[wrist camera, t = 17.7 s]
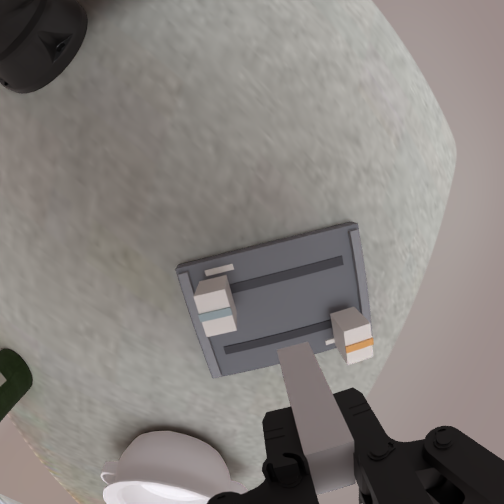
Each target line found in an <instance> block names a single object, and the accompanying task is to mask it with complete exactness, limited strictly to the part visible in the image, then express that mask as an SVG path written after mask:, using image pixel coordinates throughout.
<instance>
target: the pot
mask: <svg viewBox="0 0 504 504" xmlns="http://www.w3.org/2000/svg"><path fill="white" fill-rule="evenodd" d="M100 476H101V478H102V479H103V481H104V482H106V483H107V484H108V485H107V486H106V487H105V488H104V491H103V499H104V500H105V502H106V503H107V504H207V502H208V501H209V499H210V498H212V497H213V496H214V495H216V494H219V493H222V492H229V491H232V492H236V493H239V494H243V493H245V492H248V490H247V488H246V487H245V486H244V485H243V484H241V483H240V482H237V481H233V480H231V478H230V474H229V471H228V468H227V466H226V464H225V462H224V460H223V458H222V457H221V455H220V454H219V453H218V452H217V451H216V450H215V449H214V448H213V447H211V446H210V445H209V444H207V443H205V442H203V441H201V440H199V439H197V438H194V437H191V436H188V435H185V434H181V433H177V432H172V431H153V432H149V433H144V434H141V435H139V436H138V437H137V438H135V439H134V440H133V441H132V443H131V444H130V445H129V446H128V447H127V449H126V450H125V451H124V452H123V454H122V456H121V457H120V459H119V461H106V462H105V464H104V466H103V469H102V472H101V475H100Z"/></svg>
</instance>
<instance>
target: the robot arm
mask: <svg viewBox="0 0 504 504" xmlns="http://www.w3.org/2000/svg"><path fill="white" fill-rule="evenodd" d="M86 29H87V15H86V12H85V11H84V9H83V8H82V7H81V6H80V5H79V3H78V2H77V1H75V0H0V83H1V84H2V85H3V86H4V87H6V88H7V89H10V90H12V91H15V92H18V93H28V92H32V91H35V90H37V89H39V88H41V87H43V86H45V85H46V84H48V83H49V82H50V81H52V80H53V79H54V78H55V77H56V76H57V75H59V74H60V73H61V72H62V71H63V69H64V68H65V67H66V66H67V65H68V64H69V62H70V61H71V60H72V58H73V57H74V56H75V54H76V52H77V51H78V49H79V47H80V45H81V43H82V41H83V39H84V36H85V33H86ZM277 353H278V357H279V361H280V365H281V369H282V373H283V378H284V382H285V386H286V390H287V394H288V398H289V401H290V405H291V407H287V408H283V409H279V410H274V411H270V412H266V414H265V417H264V419H263V421H262V424H263V431H264V439H265V447H266V454H267V459H266V460H265V462H264V463H263V467H262V472H263V474H264V476H265V478H266V479H265V481H264V482H263V483H262V484H261V485H259V486H258V487H256V488H255V489H253V490H250V491H248V492H245V493H243V494H239V493H236V492H232V491H229V492H222V493H219V494H216V495H214V496H213V497H212V498H210V499H209V501H208V502H207V504H319V502H318V499H317V495H319V494H322V493H326V492H330V491H333V490H337V489H340V488H343V487H346V486H350V485H353V484H355V479H356V481H357V484H358V486H359V504H361V503H363V504H504V460H502V459H501V458H499V457H497V456H496V455H495V454H493V453H492V452H490V451H489V450H487V449H486V448H484V447H483V446H481V445H480V444H478V443H477V442H475V441H474V440H473V439H471V438H470V437H468V436H467V435H465V434H464V433H462V432H461V431H459V430H458V429H456V428H454V427H452V426H441V427H437V428H435V429H433V430H431V431H430V432H429V433H428V434H427V435H426V437H425V439H423V440H418V441H412V442H398V441H395V440H393V439H391V438H390V437H388V435H387V434H386V433H385V431H384V429H383V428H382V426H381V424H380V423H379V421H378V419H377V418H376V416H375V414H374V412H373V411H372V410H371V407H370V406H369V404H368V403H367V401H366V399H365V397H364V396H363V394H362V393H361V392H359V391H358V390H356V389H354V388H350V389H347V390H344V391H341V392H338V393H335V394H332V392H331V390H330V387H329V385H328V383H327V381H326V379H325V377H324V375H323V372H322V370H321V368H320V366H319V364H318V362H317V360H316V357H315V355H314V353H313V351H312V349H311V347H310V345H309V343H308V342H304V343H301V344H297V345H293V346H289V347H285V348H282V349H278V350H277Z"/></svg>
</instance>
